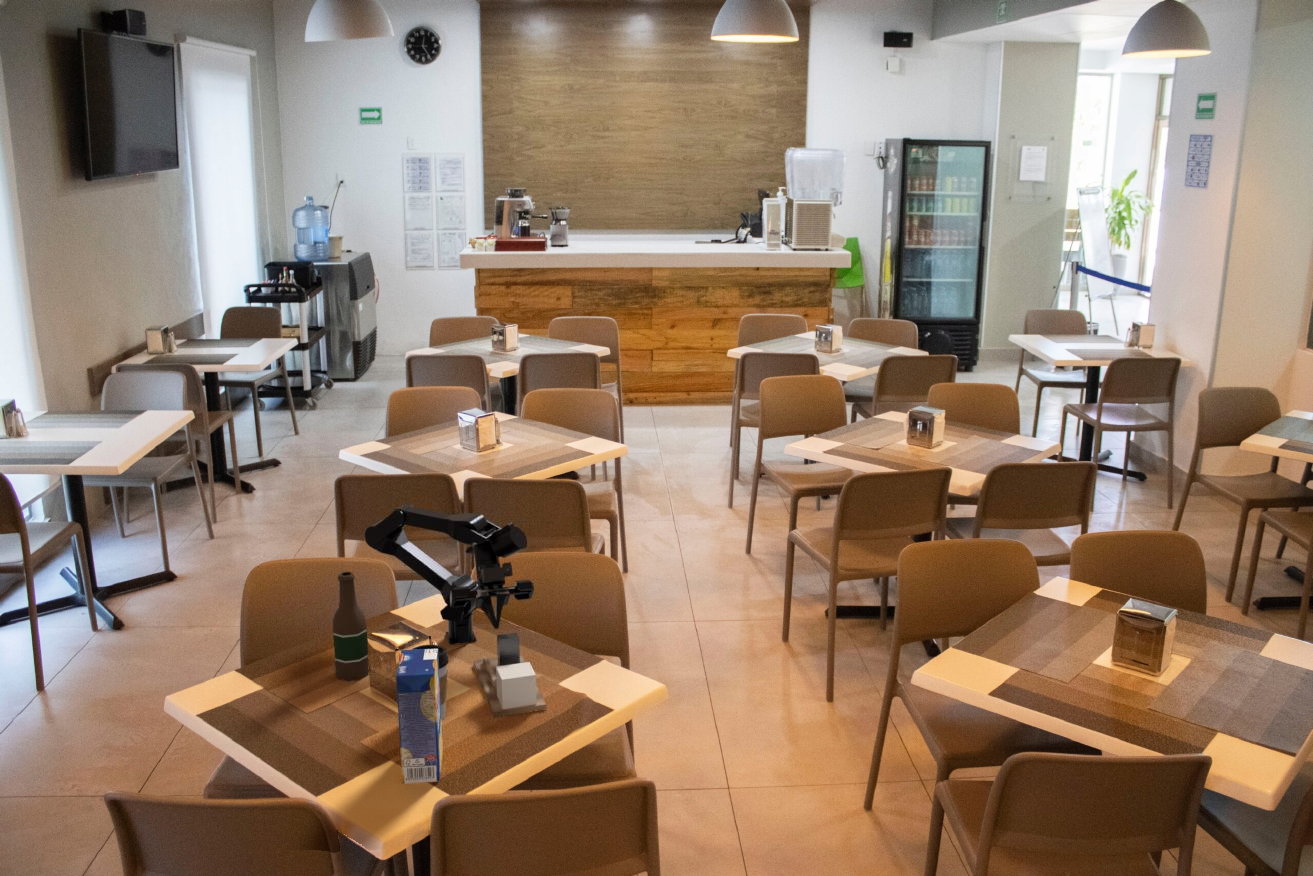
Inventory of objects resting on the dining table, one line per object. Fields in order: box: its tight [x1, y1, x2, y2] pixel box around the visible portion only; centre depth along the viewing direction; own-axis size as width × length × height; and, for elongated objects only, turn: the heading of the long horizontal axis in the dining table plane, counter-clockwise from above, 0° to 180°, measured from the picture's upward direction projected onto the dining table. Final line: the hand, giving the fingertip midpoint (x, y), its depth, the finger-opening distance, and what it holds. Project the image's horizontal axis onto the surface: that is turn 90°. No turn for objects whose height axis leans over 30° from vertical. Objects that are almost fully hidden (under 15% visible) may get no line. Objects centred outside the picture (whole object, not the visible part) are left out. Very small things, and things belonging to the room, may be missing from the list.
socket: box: [496, 661, 537, 709], centre depth 235 cm, size 6×7×7 cm
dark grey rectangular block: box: [496, 632, 521, 666], centre depth 238 cm, size 10×4×11 cm, turn 19°
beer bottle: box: [332, 571, 370, 682], centre depth 246 cm, size 8×8×24 cm
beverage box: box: [395, 648, 444, 785], centre depth 209 cm, size 7×11×22 cm, turn 7°
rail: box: [473, 653, 547, 718], centre depth 243 cm, size 25×11×3 cm, turn 19°
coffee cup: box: [411, 644, 450, 721], centre depth 229 cm, size 8×8×15 cm
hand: (496, 628), depth 250 cm, fingers closed
